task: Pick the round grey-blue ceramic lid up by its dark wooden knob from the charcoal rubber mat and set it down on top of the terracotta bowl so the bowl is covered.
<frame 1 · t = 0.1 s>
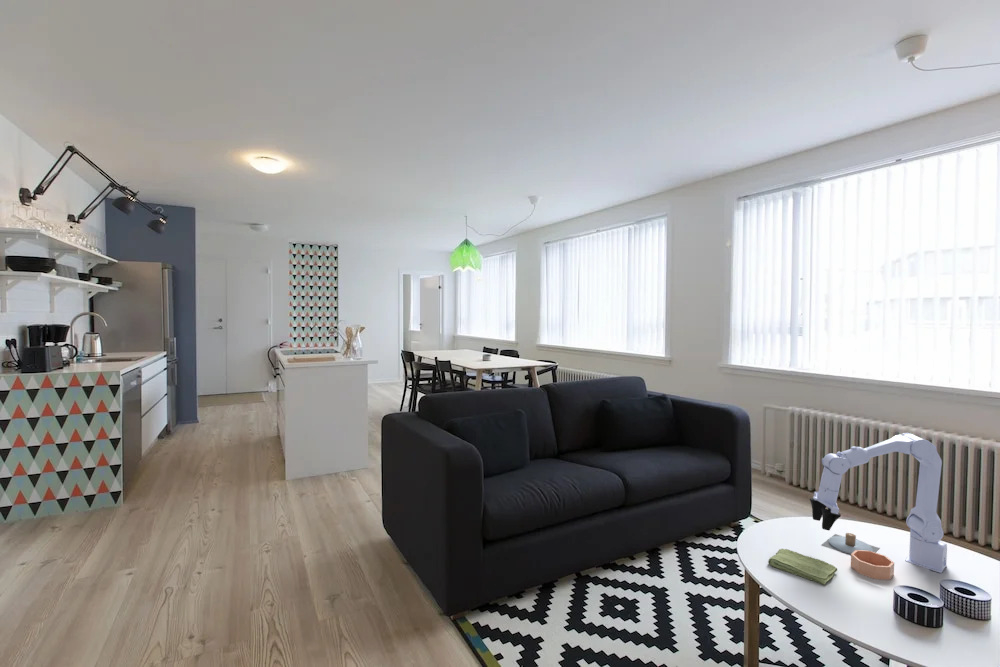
hand: (820, 524, 173), 11 cm above the table, tool pointing down, fingers open, 7 cm apart
washcloth: (802, 570, 164), on the table
lid: (850, 546, 178), resting on mat
bowl: (871, 571, 162), on the table
mat: (850, 547, 178), on the table
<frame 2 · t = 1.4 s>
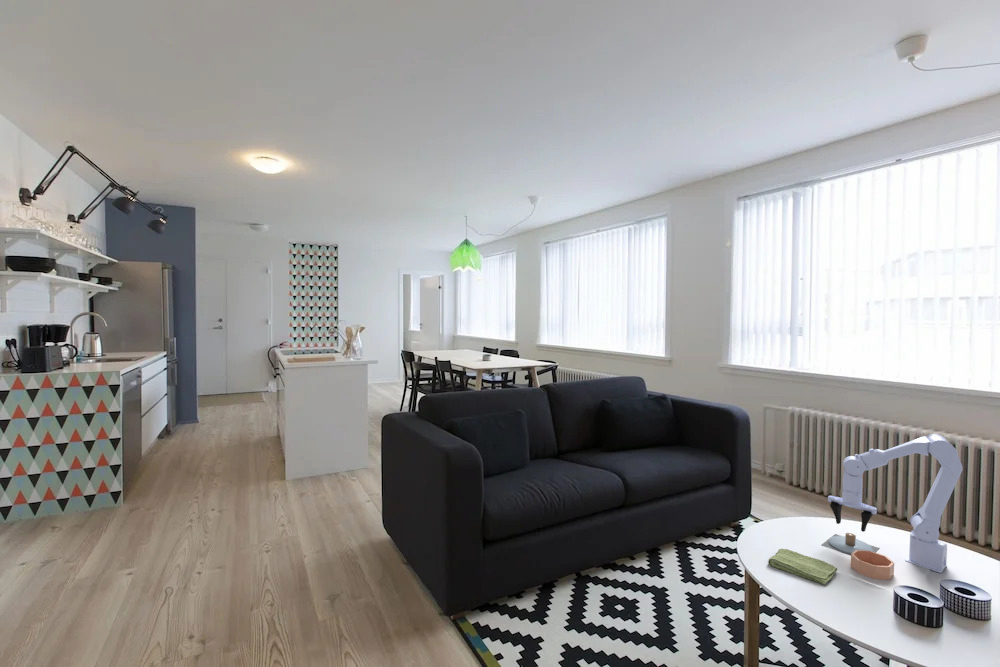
hand: (850, 526, 178), 8 cm above the table, tool pointing down, fingers open, 7 cm apart
nothing on the table moved.
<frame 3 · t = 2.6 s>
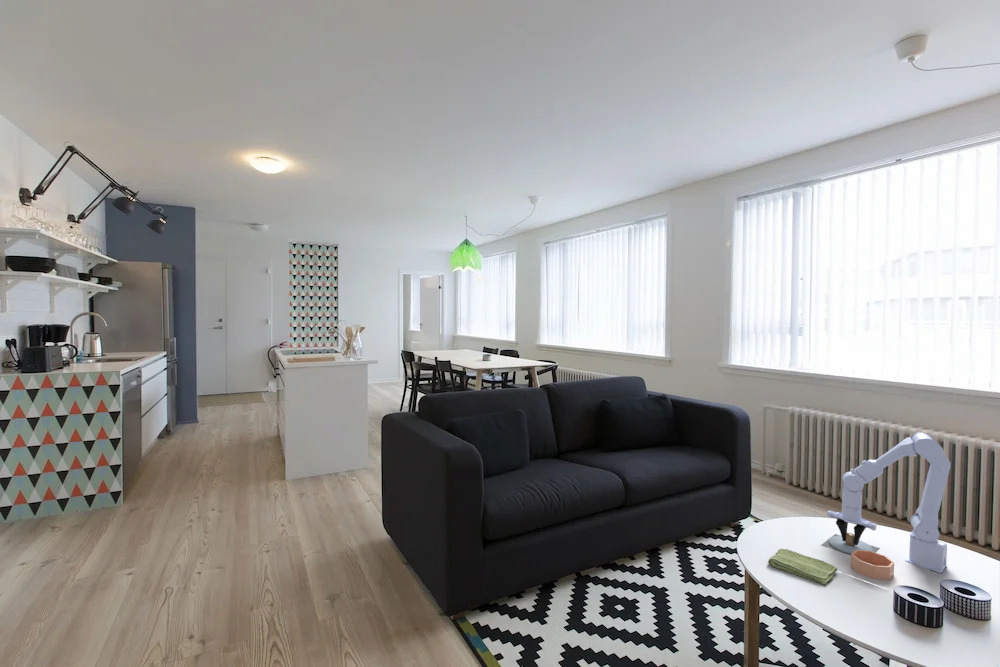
hand: (850, 542, 178), 2 cm above the table, tool pointing down, fingers closed on lid, 3 cm apart
lid: (850, 546, 178), resting on mat, touching gripper
everything else where it was.
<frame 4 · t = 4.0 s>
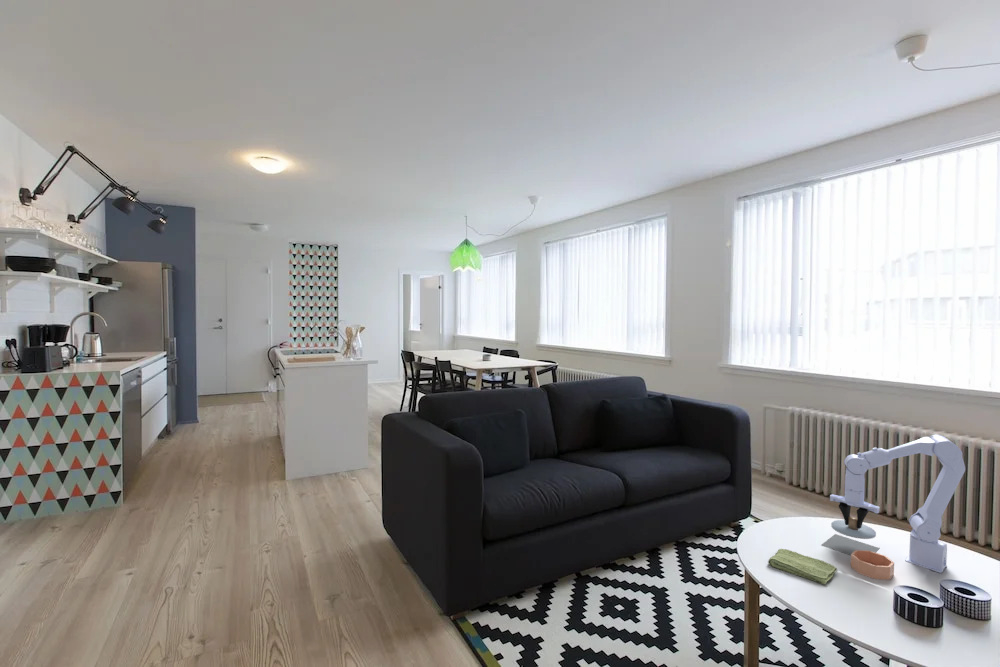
hand: (853, 525, 176), 9 cm above the table, tool pointing down, fingers closed on lid, 3 cm apart
lid: (853, 530, 176), point 7 cm above the table, touching gripper
everything else where it was.
when the fingers open (8 cm above the table, at t = 5.5 s): lid drops 1 cm, resting on bowl.
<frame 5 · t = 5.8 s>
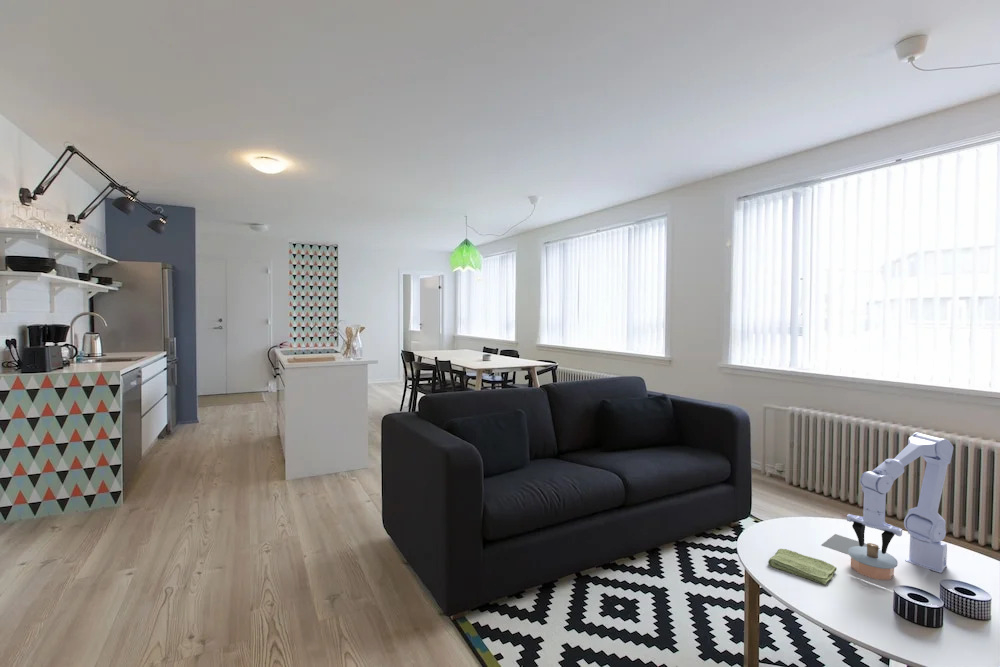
hand: (872, 549, 162), 8 cm above the table, tool pointing down, fingers open, 5 cm apart
lid: (872, 558, 162), point 4 cm above the table, touching bowl
everything else where it was.
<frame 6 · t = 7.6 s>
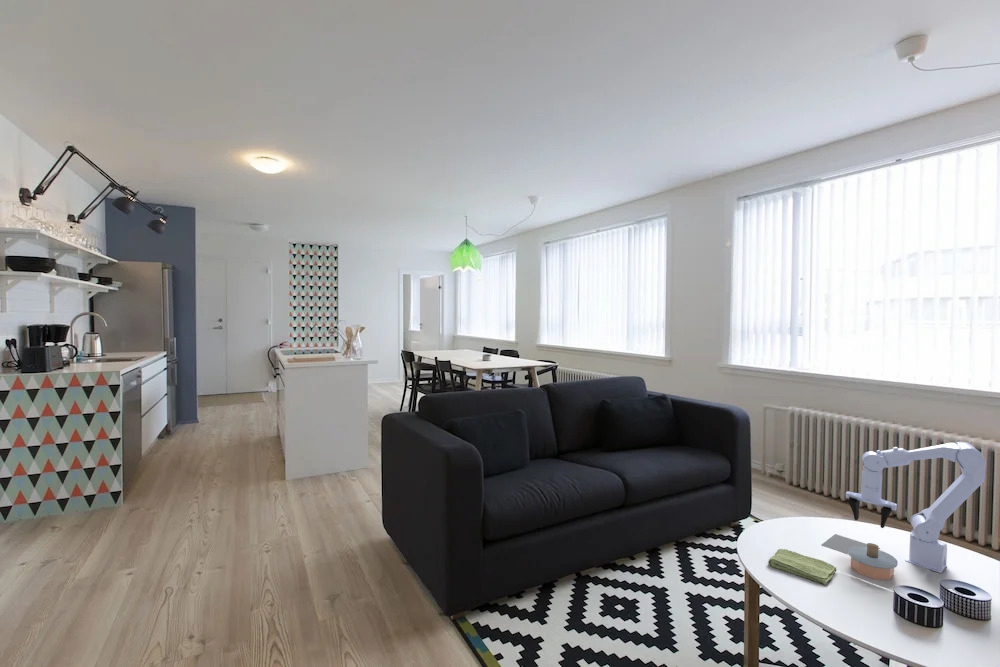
hand: (869, 523, 175), 10 cm above the table, tool pointing down, fingers open, 7 cm apart
nothing on the table moved.
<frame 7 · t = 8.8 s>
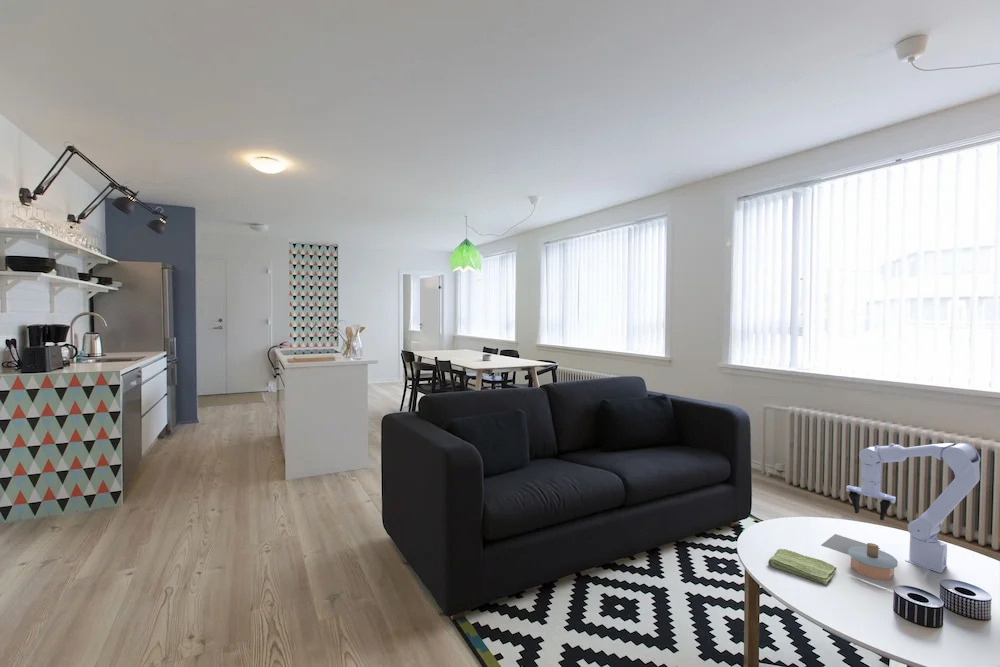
hand: (869, 515, 181), 10 cm above the table, tool pointing down, fingers open, 7 cm apart
nothing on the table moved.
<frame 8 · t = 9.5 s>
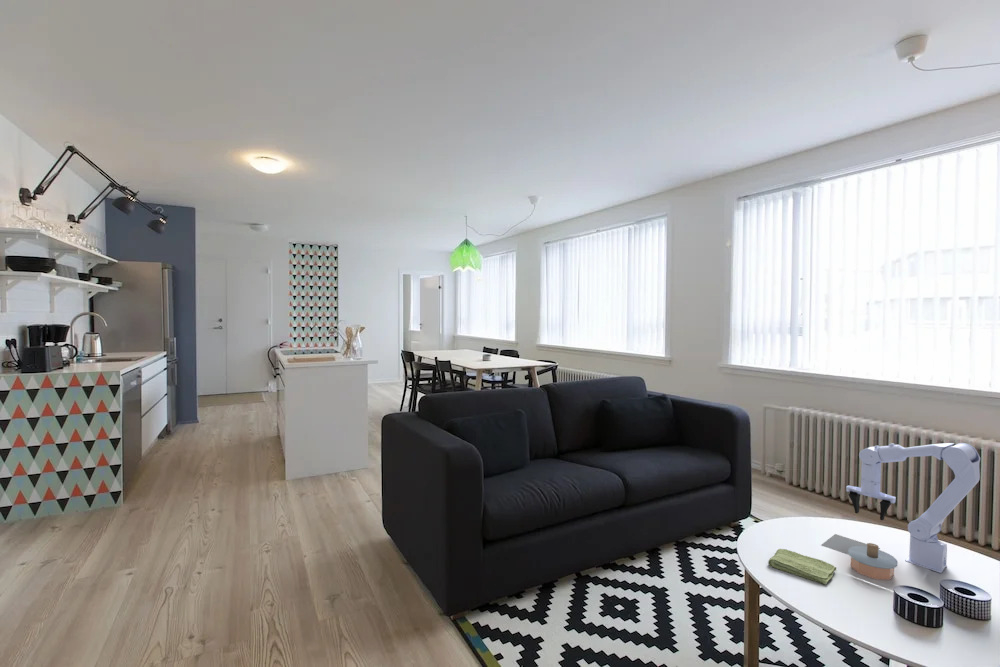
hand: (869, 515, 181), 10 cm above the table, tool pointing down, fingers open, 7 cm apart
nothing on the table moved.
at the end: lid 0.0 cm from the bowl (horizontally); lid point 4.5 cm above the table; lid tilted 0° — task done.
